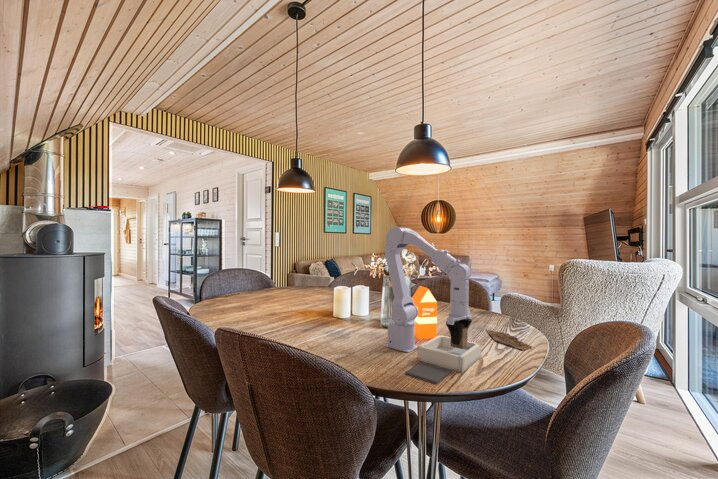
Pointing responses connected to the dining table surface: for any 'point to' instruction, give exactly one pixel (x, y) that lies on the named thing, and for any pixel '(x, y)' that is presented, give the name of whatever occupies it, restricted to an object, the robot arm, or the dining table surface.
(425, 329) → the orange juice
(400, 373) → the dining table surface
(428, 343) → the box
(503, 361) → the dining table surface
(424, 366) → the place mat
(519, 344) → the wooden fragment
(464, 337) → the walnut block
